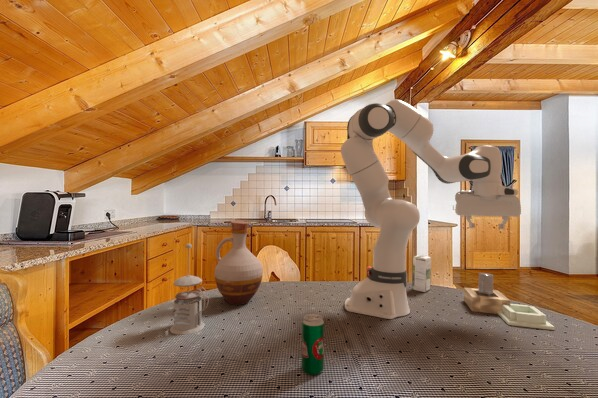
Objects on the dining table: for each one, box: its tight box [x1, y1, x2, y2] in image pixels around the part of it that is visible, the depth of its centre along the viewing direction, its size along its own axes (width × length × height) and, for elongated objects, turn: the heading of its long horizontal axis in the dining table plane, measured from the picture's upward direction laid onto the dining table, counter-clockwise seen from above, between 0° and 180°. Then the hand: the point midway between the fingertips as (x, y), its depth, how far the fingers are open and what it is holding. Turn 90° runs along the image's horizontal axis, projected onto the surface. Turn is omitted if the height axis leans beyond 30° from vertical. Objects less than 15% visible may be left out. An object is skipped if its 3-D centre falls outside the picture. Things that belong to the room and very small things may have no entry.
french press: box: [169, 243, 210, 336], centre depth 87 cm, size 10×12×25 cm
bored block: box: [463, 287, 511, 315], centre depth 107 cm, size 12×12×5 cm
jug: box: [214, 220, 264, 306], centre depth 111 cm, size 20×18×30 cm
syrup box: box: [411, 254, 432, 293], centre depth 127 cm, size 6×6×14 cm
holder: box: [497, 303, 555, 331], centre depth 96 cm, size 12×12×4 cm
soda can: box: [301, 313, 325, 376], centre depth 67 cm, size 5×5×12 cm
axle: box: [477, 272, 494, 297], centre depth 107 cm, size 4×4×12 cm
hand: (486, 228), depth 107 cm, fingers open, 8 cm apart
